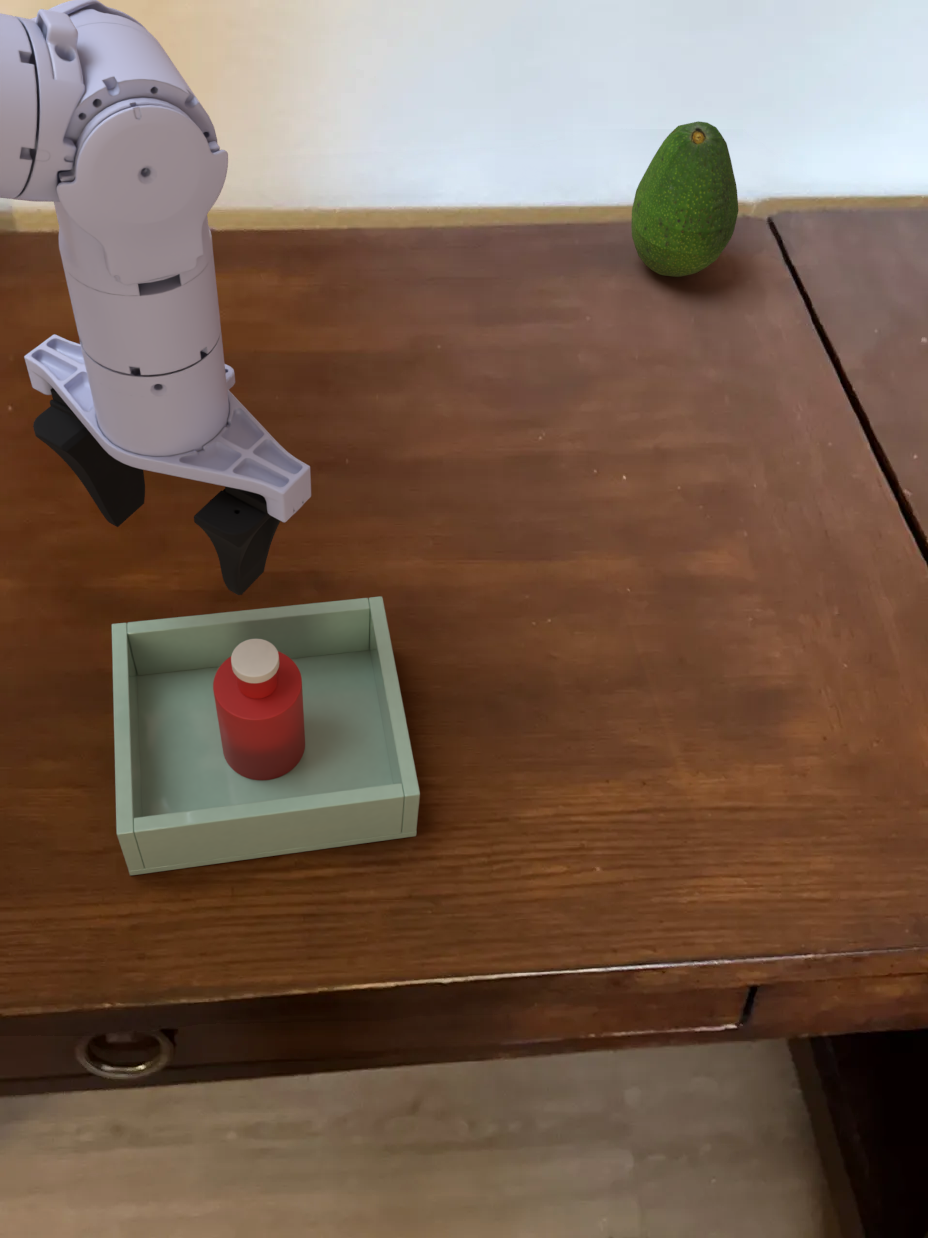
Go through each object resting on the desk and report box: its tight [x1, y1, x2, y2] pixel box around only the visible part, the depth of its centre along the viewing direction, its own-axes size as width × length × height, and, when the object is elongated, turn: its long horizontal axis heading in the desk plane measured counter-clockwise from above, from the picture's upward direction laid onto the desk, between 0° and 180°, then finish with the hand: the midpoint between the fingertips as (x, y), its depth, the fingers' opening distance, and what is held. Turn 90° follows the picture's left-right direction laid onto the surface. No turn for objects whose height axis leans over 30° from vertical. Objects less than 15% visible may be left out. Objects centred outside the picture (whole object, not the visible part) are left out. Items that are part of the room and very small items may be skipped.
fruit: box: [630, 120, 740, 278], centre depth 90 cm, size 8×8×12 cm
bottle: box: [213, 639, 305, 780], centre depth 62 cm, size 4×4×8 cm
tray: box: [111, 595, 421, 876], centre depth 64 cm, size 15×13×4 cm
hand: (185, 545), depth 61 cm, fingers open, 7 cm apart
